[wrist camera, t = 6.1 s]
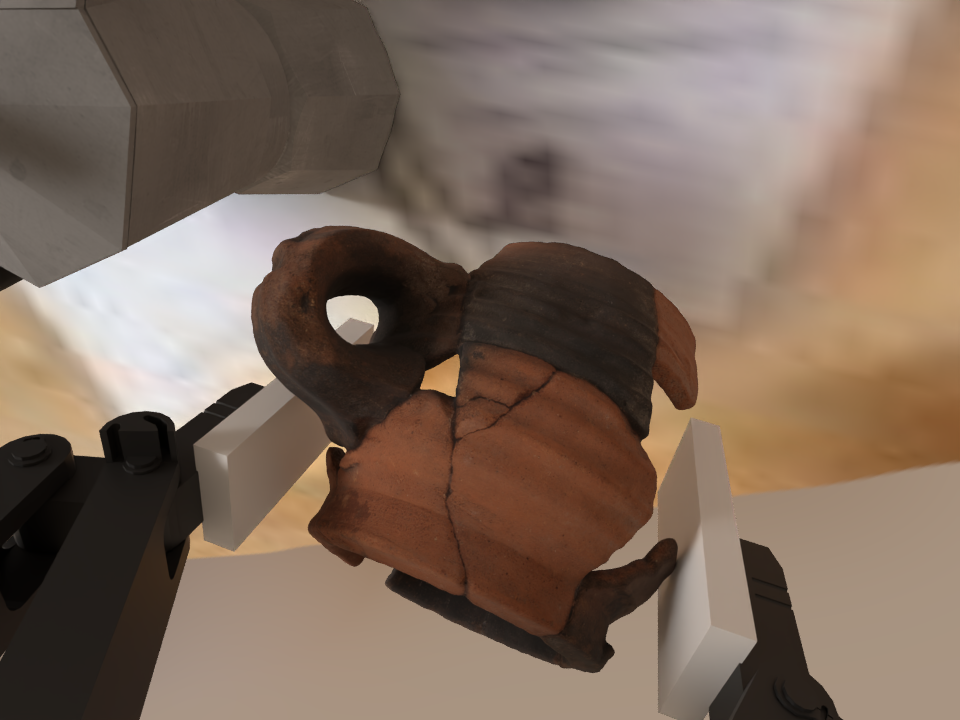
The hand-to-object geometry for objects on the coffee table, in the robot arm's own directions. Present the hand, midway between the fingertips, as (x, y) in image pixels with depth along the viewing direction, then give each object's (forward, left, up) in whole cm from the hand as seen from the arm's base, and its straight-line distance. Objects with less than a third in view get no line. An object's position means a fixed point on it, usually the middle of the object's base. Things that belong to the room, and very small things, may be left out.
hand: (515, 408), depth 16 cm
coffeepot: (-15, +5, -12) cm, 20 cm away
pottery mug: (-1, +1, -1) cm, 1 cm away
